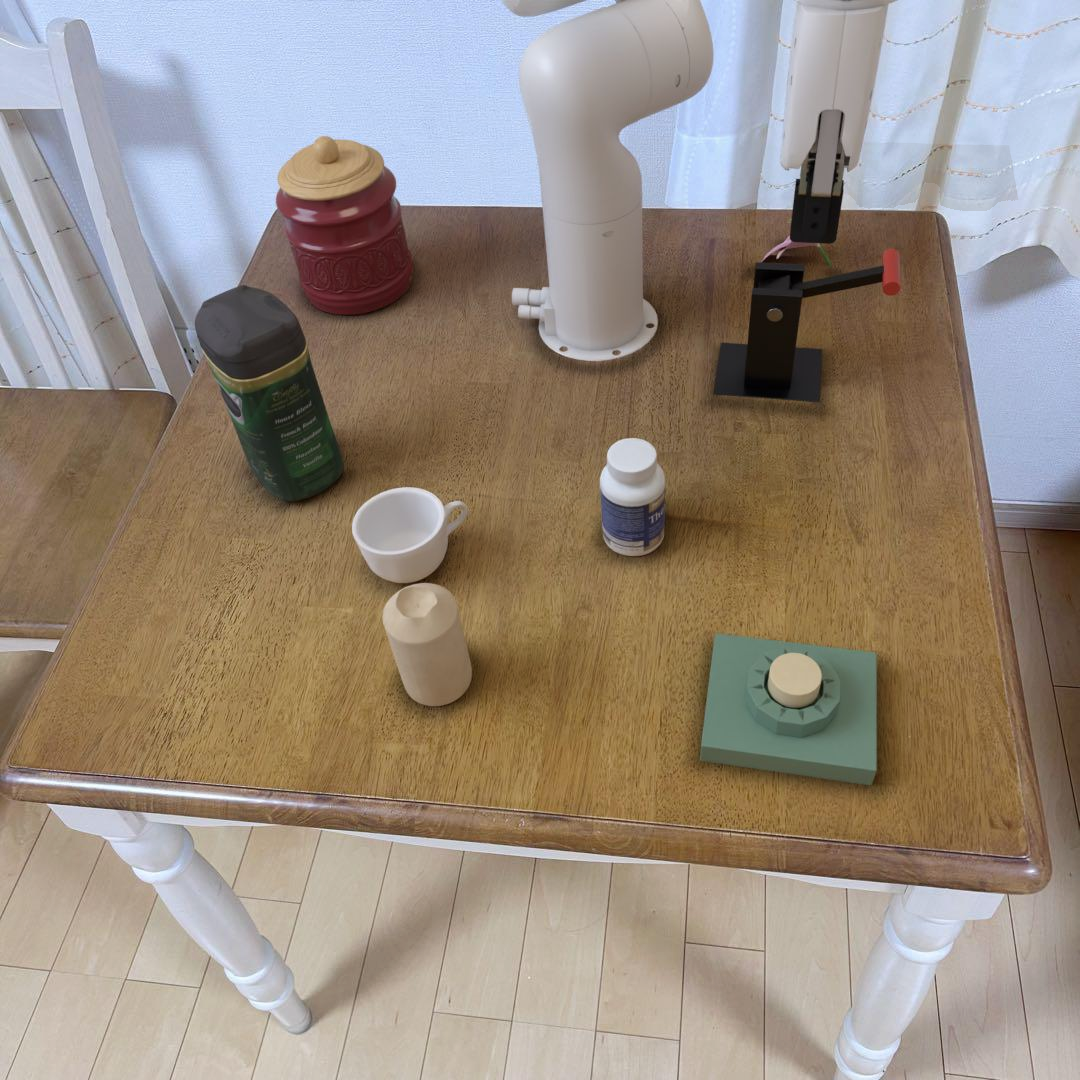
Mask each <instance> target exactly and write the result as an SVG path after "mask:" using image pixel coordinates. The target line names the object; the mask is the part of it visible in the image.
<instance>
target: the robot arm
mask: <svg viewBox="0 0 1080 1080" xmlns="http://www.w3.org/2000/svg"><path fill="white" fill-rule="evenodd" d="M500 1H501V3H502V4H503V5H504V7H505V8H507V9H508V11H510V12H511V13H512V14H514V15H515V16H518V17H523V18H530V17H532V18H533V17H538V16H542V15H547V14H549V13H550V14H551V13H553V12H558V11H559V10H562V9H563V10H564V9H566V8H569V7H572V6H574V5H577V4H580V3H583V2H586V1H587V0H500ZM614 1H615V3H614V4H611V5H609V6H604V7H600V8H598V9H595V10H592V11H590V12H587V13H584V14H581V15H579V16H578V15H577V16H575V17H573V18H571V19H568V20H564V21H562V22H560V23H557V24H555V25H554V26H551V27H550V28H548V29H547V30H545V31H543V32H542V33H540V34H539V35H538V36H536V38H534V39H533V40H532V41H531V42H530V44H529V45H528V46H527V47H526V49H525V51H524V52H523V54H522V56H521V60H520V62H519V67H518V83H519V91H520V95H521V99H522V103H523V105H524V109H525V113H526V116H527V120H528V124H529V128H530V132H531V135H532V140H533V145H534V149H535V156H536V162H537V168H538V169H537V170H538V177H539V186H540V198H541V206H542V220H543V230H544V240H545V252H546V264H547V274H548V285H549V286H542V288H541V289H531V288H526V287H512V288H513V289H512V291H511V304H512V306H513V307H518V308H517V317H518V319H521V320H522V319H523V320H532V319H533V320H534V319H535V320H539V321H538V331H539V332H538V333H539V336H540V338H541V339H542V342H543V343H544V344H545V345H546V346H547V347H548V348H549V349H551V350H552V351H554V352H555V353H557V354H559V355H561V356H564V357H566V358H570V359H574V360H577V361H578V360H579V361H587V362H602V361H611V360H614V359H615V360H616V359H619V358H622V357H626V356H628V355H631V354H633V353H636V352H637V351H638V350H641V349H642V348H643V347H644V346H646V345H647V344H648V343H650V341H651V340H652V339H653V337H654V336H655V334H656V332H657V329H658V325H659V319H658V314H657V313H656V310H655V308H654V307H653V305H651V303H650V302H649V301H647V300H646V299H644V249H643V248H644V245H643V244H644V243H643V242H644V241H643V238H644V237H643V236H644V235H643V230H644V229H643V179H642V171H641V168H640V165H639V163H638V161H637V159H636V157H635V156H634V155H633V153H632V152H631V151H630V150H629V149H628V148H627V147H626V146H625V145H623V143H622V142H621V140H620V134H621V132H622V130H624V129H625V128H627V127H628V126H631V125H632V124H635V123H637V122H639V121H641V120H643V119H646V118H648V117H651V116H652V115H655V114H657V113H658V114H659V113H661V112H663V111H665V110H668V109H670V108H672V107H675V106H677V105H680V104H681V103H684V102H686V101H688V100H690V99H691V98H693V97H695V96H696V95H697V94H698V93H700V92H702V90H703V89H704V87H705V86H706V84H707V83H708V81H709V79H710V77H711V75H712V71H713V66H714V55H715V54H714V44H713V43H714V42H713V37H712V36H713V35H712V32H711V29H710V25H709V20H708V18H707V15H706V12H705V10H704V6H703V5H702V1H701V0H614ZM794 1H795V2H796V5H795V10H794V11H795V12H794V18H793V24H792V25H793V26H792V32H791V33H792V34H791V39H790V41H791V42H790V49H789V57H788V58H789V59H788V69H787V78H786V79H787V80H786V90H785V91H786V92H785V101H784V111H783V112H784V113H783V123H782V132H781V133H782V134H781V145H780V154H779V155H780V156H779V164H780V165H781V167H782V168H783V170H784V171H790V169H794V170H799V169H800V172H799V178H795V185H794V194H793V202H792V211H791V218H790V219H791V221H790V222H791V223H790V228H789V229H790V230H789V236H790V240H791V241H792V242H802V243H819V244H824V245H825V244H826V245H827V244H828V245H832V244H834V243H835V242H836V241H837V236H838V230H839V224H840V219H841V217H840V216H841V211H842V204H843V198H844V190H845V189H844V187H845V186H844V185H845V184H844V183H845V179H844V173H845V169H846V172H847V173H849V172H851V171H853V170H854V169H855V168H856V167H858V164H859V162H860V161H859V160H860V157H861V152H862V148H863V143H864V139H865V134H866V130H867V125H868V121H869V115H870V112H871V111H870V110H871V107H872V101H873V95H874V90H875V85H876V80H877V74H878V69H879V63H880V58H881V51H882V46H883V40H884V34H885V28H886V24H887V23H886V22H887V16H888V11H889V4H893V3H894V2H897V1H898V0H794ZM843 179H844V180H843ZM647 325H653V326H652V327H647ZM561 348H567V350H565V351H562V350H560V349H561ZM615 351H618V352H620V353H619V354H614V353H613V352H615Z"/></svg>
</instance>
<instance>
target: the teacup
mask: <svg viewBox="0 0 1080 1080" xmlns="http://www.w3.org/2000/svg"><path fill="white" fill-rule="evenodd" d="M457 508H461V513H460V515H459V516H458V517H457V518H456V519H455V520H453V521H451V522H449V518H450V516H451V514H452V512H453V511H454V510H455V509H457ZM468 514H469V509H468V506H467V505H466V504H465V503H464V502H463V501H461V500H454V501H450V502H448V503H445V504H443V502H442V501H441V500H440V498H438V496H436V495H435V494H434V493H433V492H431V491H428V490H427V489H423V488H419V487H414V486H413V487H410V486H404V487H395V488H391V489H388V490H385V491H382V492H380V493H378V494H376V495H374V496H372V497H371V498H369V499H368V500H367V501H365V502H364V503H363V504H362V505H361V506H360V507H359V508H358V510H357V512H356V513H355V515H354V517H353V519H352V523H351V532H352V536H353V539H354V540H355V543H356V544H357V547H358V549H359V551H360V553H361V556H363V558H364V561H365V563H367V566H368V567H369V568H370V570H371V571H372V572H373V573H374V574H375V575H377V576H378V577H379V578H381V579H383V580H386V581H388V582H391V583H396V584H411V583H416V582H418V581H421V580H423V579H425V578H427V577H429V576H430V575H431V574H433V573H434V572H435V571H436V570H437V569H438V568H439V567H440V565H441V564H442V562H443V560H444V559H445V556H446V553H447V550H448V544H449V535H451V533H453V531H455V530H456V529H457V528H458V527H459V526H460V525H461V524H463V522H464V521H465V520H466V519H467V516H468ZM448 522H449V523H448Z"/></svg>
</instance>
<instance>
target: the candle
mask: <svg viewBox="0 0 1080 1080" xmlns="http://www.w3.org/2000/svg"><path fill="white" fill-rule="evenodd" d="M381 616H382V624H383V628H384V631H385V633H386V636H387V640H388V642H389V646H390V649H391V651H392V655H393V658H394V661H395V664H396V666H397V669H398V673H399V675H400V678H401V682H402V684H403V687H404V689H405V691H406V693H407V695H408V696H409V697H410V698H411V699H412V700H413V701H414V702H416V703H418V704H420V705H423V706H427V707H441V706H445V705H446V706H447V705H449V704H451V703H453V702H456V701H457V700H458V699H459V698H461V697H462V696H463V695H464V694H465V693H466V692H467V690H468V688H469V687H470V685H471V682H472V678H473V667H472V662H471V658H470V654H469V650H468V645H467V641H466V637H465V631H464V629H463V624H462V619H461V615H460V612H459V607H458V603H457V600H456V598H455V596H454V595H453V593H451V591H450V590H449V589H447V588H445V586H441V585H440V584H437V583H432V582H419V583H414V584H410V585H407V586H405V587H402V588H401V589H399V590H398V591H396V592H395V593H394V594H393V595H392V596H391V597H390V598H389V599H388V600H387V602H386V604H385V605H384V607H383V611H382V615H381Z"/></svg>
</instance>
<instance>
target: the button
mask: <svg viewBox="0 0 1080 1080" xmlns="http://www.w3.org/2000/svg"><path fill="white" fill-rule="evenodd" d="M821 681H822V673H821V670H820V667H819V666H818V664H817V663H816V662H815V661H814V660H813V659H811V658H810V657H808V656H806V655H804V654H800V653H787V654H783V655H781V656H779V657H778V658H776V659H775V660H774V661H773V663H772V664H771V667H770V672H769V679H768V689H769V692H770V694H771V696H772V697H773V698H774V699H775V700H776V701H777V702H778V703H780V704H782V705H784V706H786V707H790V708H802V707H805V706H808V705H810V704H811V703H813V702H814V701H815V699H816V698H817V696H818V694H819V689H820V685H821Z"/></svg>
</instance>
